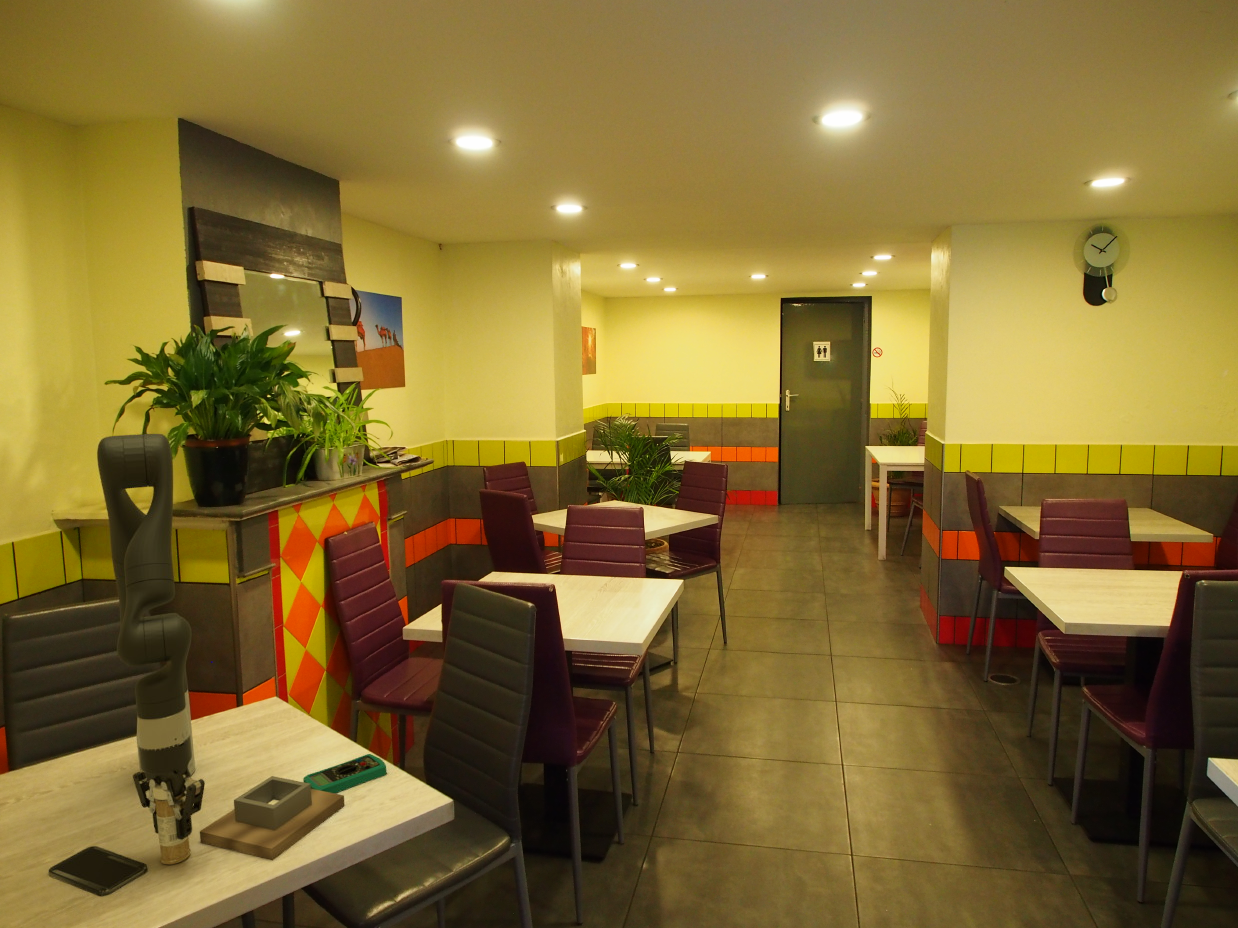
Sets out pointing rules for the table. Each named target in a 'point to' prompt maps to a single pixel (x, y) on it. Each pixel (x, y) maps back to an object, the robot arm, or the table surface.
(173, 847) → the sprinkles bottle
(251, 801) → the socket sleeve
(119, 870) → the phone
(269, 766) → the table surface
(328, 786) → the digital multimeter
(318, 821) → the socket board
